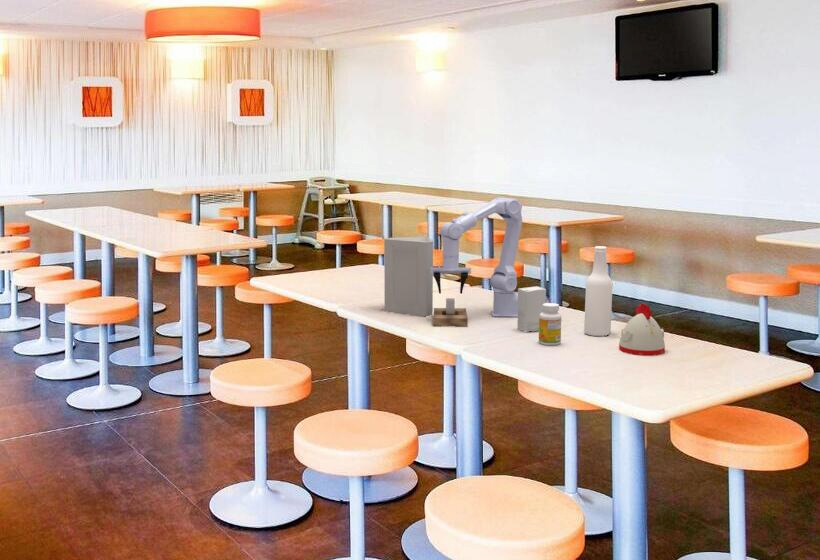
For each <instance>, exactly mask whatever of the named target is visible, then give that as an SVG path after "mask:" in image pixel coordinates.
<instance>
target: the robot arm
mask: <svg viewBox="0 0 820 560" xmlns="http://www.w3.org/2000/svg"><path fill="white" fill-rule="evenodd" d="M522 208H523V206H522V204H521V202H520V200H518V198H510V197H503V196H498V197H495V199H494V198H493V199H491V201H490V202H488V203H487V204H485V205H484V206H482V207H480V208H478V209H477V210H475V211H474V212H469V211H468V212H466V211H465V212H462V213H461V214H462V215H460V216H459V217H457V218H452V220H451V222H447V221H446V222H445V223H443V225H442V226H441V229H439V234H440V236H441V238H442V266H437V267H435V266H433V268H431V274H433V279H435V282H436V286H437V289H438V294H442V288H441V287H442V285H441V274H460V287H459V293H460V294H463V289H464V287H465V283H466V280H467V279H468V277H469V275H470V274H472V268H471V267H460V261H459V259H460V257H459V255H460V238H461V237H462V236H463V234H464V233H466V232H467V231H469V230H471V229H473V228H475V227H476V226H477V223H478V222H479V221H481V220H483V219H485V218H487V217H489V216H491V215H493V214H497V215H499V216H500V218H502V219H503V221H504V222H505V224H506V226H505V232H504V237H503V242H502V247H501V253H500V257H499V262H498V265H497V266H496V267H495V268H494V269H493V273H492V274H491V276H490V279H489V284H490V286H491V288H492V291H493V306H492V307H493V308H492V309H493V310H492V311H491V314H492V317H495V318H496V317H503V318H505V317H507V318H509V317H513V318H516V317H517V318H518V291H515V290H516V289H517V285H518V280H517V275H518V273H517V271H516V270H515V267H514V266H515V261H516V256H517V251H518V246H519V241H520V236H521V230H522V225H523V216H522Z"/></svg>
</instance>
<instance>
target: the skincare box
mask: <svg viewBox="0 0 820 560" xmlns="http://www.w3.org/2000/svg"><path fill="white" fill-rule="evenodd" d="M517 292H518V317H517V330H519V329H520V330H519V331H521V330H523V331H522V332H524V331H526V332H525V333H530V332H529V331H532V332H539V315H540V313H542V312H543V310H542V306H543V304H544V303H547V302H546V300H547V297H546V296H547V289H546V288H543V287H540V286H539V285H538V286H530V287H529V286H527V287H522V288H521V287H519V288H517Z"/></svg>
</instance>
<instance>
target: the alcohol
mask: <svg viewBox="0 0 820 560" xmlns="http://www.w3.org/2000/svg"><path fill="white" fill-rule="evenodd" d="M607 249H608V248H607V247H606V246H605V245H604V246H603V245H598V246H597V245H596V246H594V254H593V255H594V257H593V263H592V264H593V265H592V270H591V271H592V272H591V274H590V275H589V276H588V278H587V279H586V283H585V300H584V301H585V302H584V325H583V327H584V328H583V332H584V333H585V335H587V334H588V336H590V335H591V336H590V337H608V336H609V335H610V334H611V331H612V330H611V329H612V327H611V326H612V309H613V307H612V306H613V305H612V304H613V280H612V279H611V277H610V275H609V274H608V270H607V266H608V265H607V263H608V262H607V252H608V251H607ZM607 335H608V336H607Z"/></svg>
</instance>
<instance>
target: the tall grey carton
mask: <svg viewBox="0 0 820 560" xmlns="http://www.w3.org/2000/svg"><path fill="white" fill-rule="evenodd" d="M383 243H384V252H383V253H384V258H383V259H384V263H383V264H384V312H385V311H388V312H387V313H390V312H394V313H393V314H398V313H402V314H401V315H406V314H409V315H408V316H414V315H417V316H416V317H421V316H429V317H431V316H434V307H433V298H434V297H433V292H434V290H433V289H434V288H433V287H434V286H433V285H434V273H433V274H431V268H434V240H432V239H431V238H430V237H429V236H407V237H405V236H404V237H401V236H400V237H387V238H384V242H383ZM430 315H431V316H430Z"/></svg>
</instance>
